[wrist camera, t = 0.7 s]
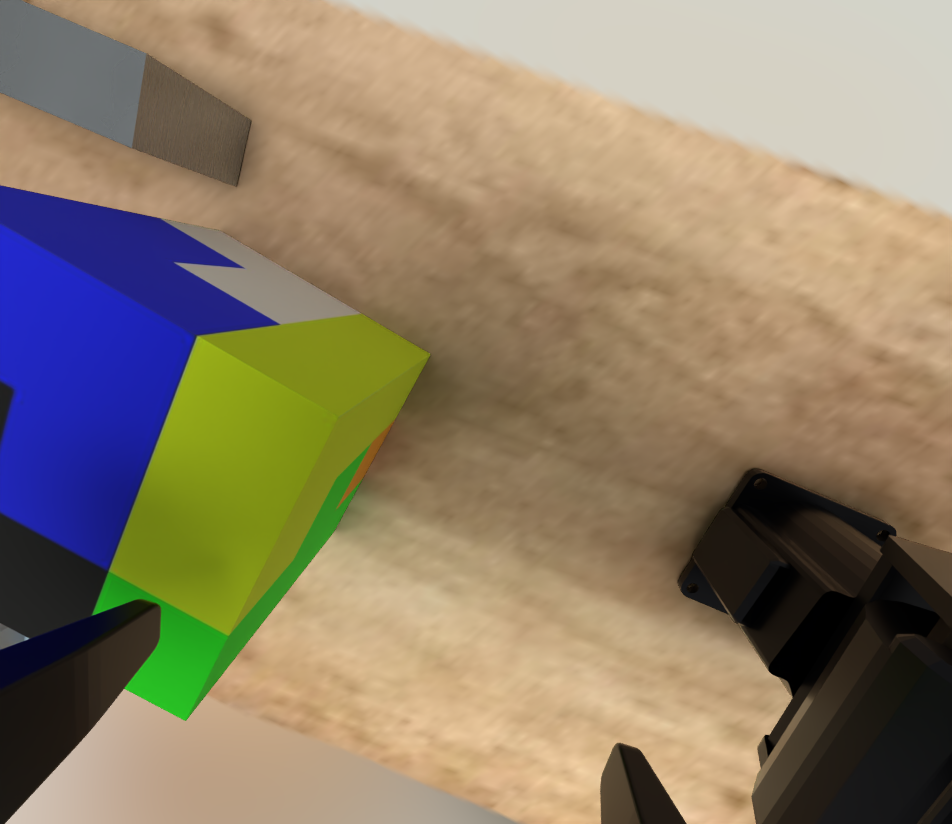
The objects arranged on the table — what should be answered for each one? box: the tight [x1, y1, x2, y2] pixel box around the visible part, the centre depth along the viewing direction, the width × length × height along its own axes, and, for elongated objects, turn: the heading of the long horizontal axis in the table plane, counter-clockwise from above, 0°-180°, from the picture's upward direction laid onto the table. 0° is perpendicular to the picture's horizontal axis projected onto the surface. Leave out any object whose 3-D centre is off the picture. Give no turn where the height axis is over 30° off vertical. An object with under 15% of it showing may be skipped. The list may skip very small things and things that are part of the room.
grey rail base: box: [0, 0, 251, 187], centre depth 18 cm, size 14×25×5 cm, turn 158°
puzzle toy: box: [0, 185, 431, 721], centre depth 15 cm, size 10×10×10 cm
